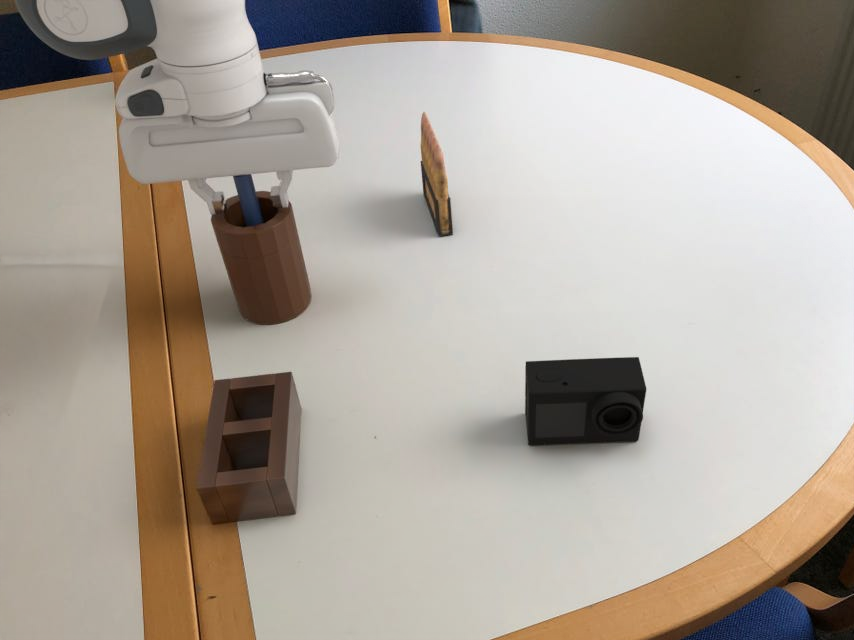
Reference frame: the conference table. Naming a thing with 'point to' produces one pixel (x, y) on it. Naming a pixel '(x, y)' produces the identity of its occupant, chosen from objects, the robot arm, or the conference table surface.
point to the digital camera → (584, 400)
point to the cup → (263, 261)
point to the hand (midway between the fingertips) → (250, 208)
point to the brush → (248, 200)
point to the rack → (251, 449)
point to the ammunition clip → (435, 180)
